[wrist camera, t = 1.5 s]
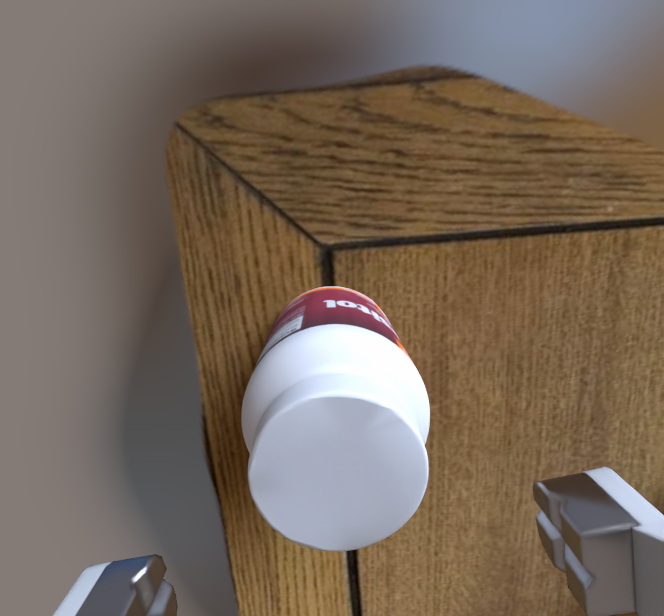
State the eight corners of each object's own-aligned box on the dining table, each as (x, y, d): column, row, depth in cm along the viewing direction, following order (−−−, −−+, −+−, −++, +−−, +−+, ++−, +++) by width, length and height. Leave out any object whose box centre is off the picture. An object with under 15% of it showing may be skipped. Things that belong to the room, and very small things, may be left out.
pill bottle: (417, 336, 21) (512, 467, 11) (337, 420, 22) (351, 616, 12) (324, 256, 20) (328, 312, 10) (245, 348, 21) (168, 491, 11)
